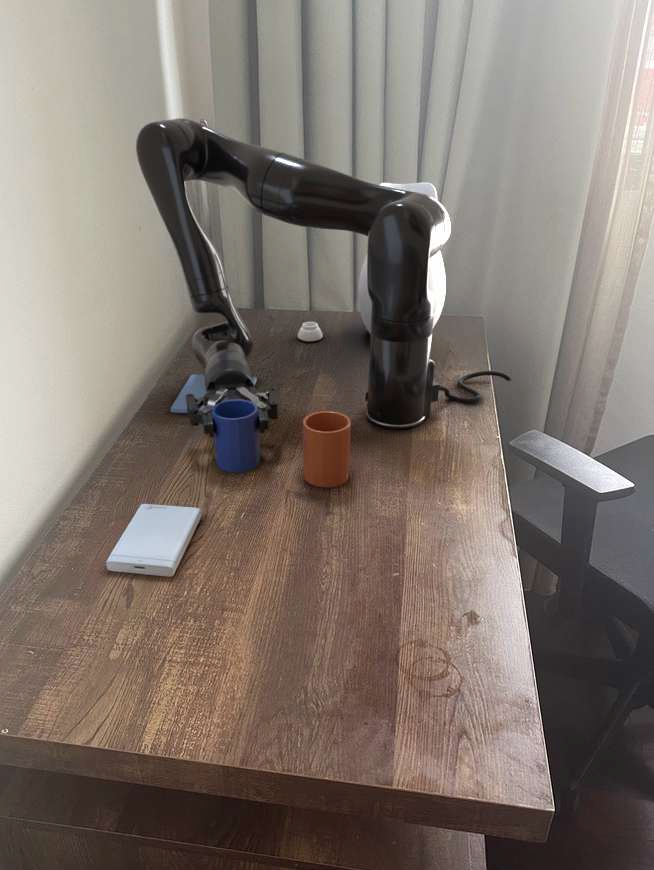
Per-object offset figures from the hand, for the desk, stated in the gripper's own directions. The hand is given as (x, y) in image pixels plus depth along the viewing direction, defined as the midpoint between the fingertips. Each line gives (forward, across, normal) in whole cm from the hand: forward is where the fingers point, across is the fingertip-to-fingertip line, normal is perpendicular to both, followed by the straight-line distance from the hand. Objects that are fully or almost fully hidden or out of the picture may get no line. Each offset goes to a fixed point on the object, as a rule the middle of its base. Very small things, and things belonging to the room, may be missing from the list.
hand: (237, 429), depth 103 cm
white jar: (-50, +18, +7) cm, 53 cm away
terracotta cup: (+4, +12, +6) cm, 14 cm away
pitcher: (-44, +35, +7) cm, 57 cm away
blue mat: (-26, -2, +6) cm, 27 cm away
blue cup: (-2, 0, +6) cm, 7 cm away
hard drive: (+16, -12, +7) cm, 21 cm away
